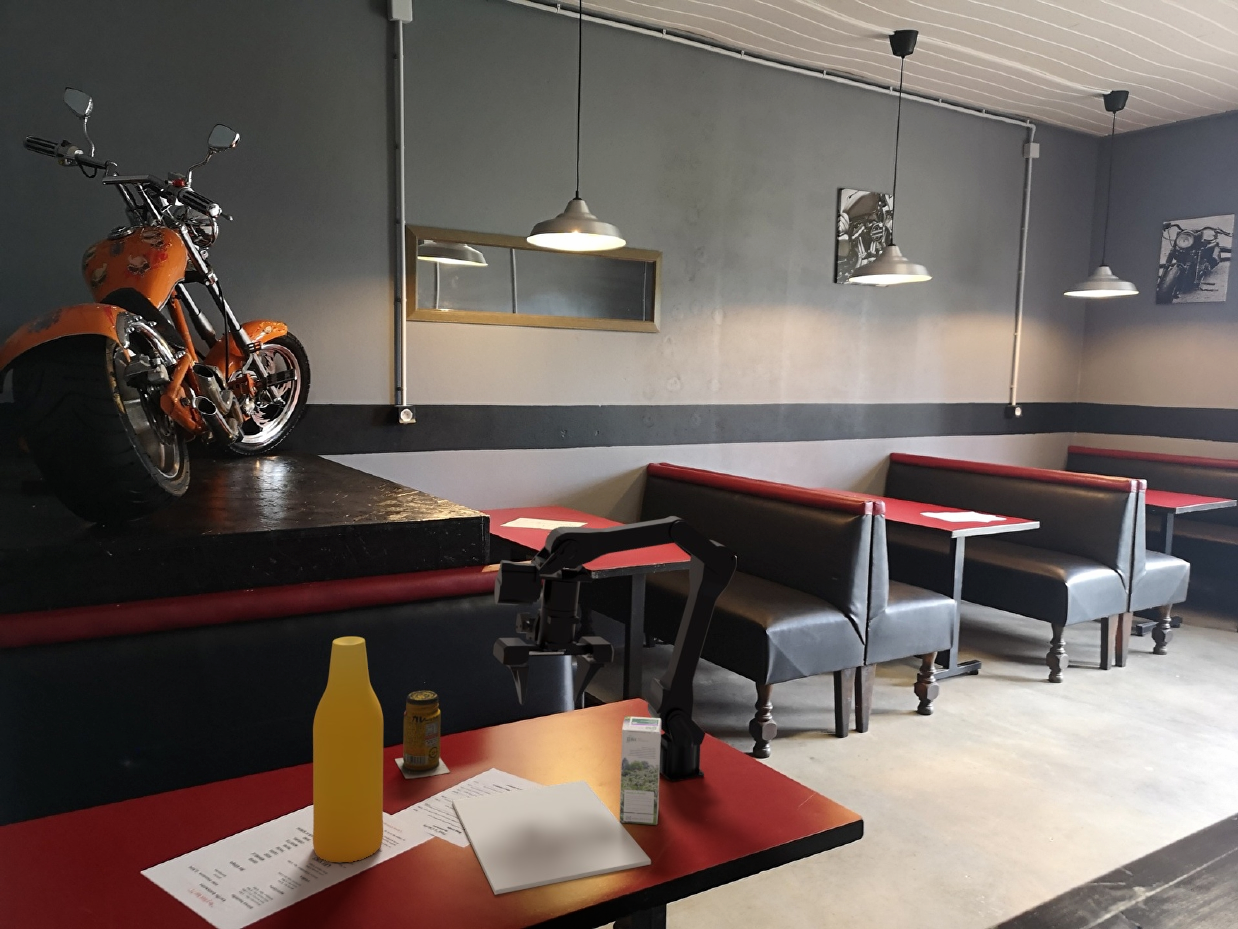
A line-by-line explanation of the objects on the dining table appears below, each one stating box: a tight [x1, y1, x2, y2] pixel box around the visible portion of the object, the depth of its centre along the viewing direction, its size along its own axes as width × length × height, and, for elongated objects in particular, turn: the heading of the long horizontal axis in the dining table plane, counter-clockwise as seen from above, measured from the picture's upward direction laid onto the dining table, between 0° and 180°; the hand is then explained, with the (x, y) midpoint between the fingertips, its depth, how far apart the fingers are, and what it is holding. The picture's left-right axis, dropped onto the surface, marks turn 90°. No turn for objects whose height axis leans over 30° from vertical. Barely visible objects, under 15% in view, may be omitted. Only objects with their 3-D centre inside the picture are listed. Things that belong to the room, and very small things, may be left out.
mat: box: [451, 779, 652, 895], centre depth 128 cm, size 22×26×1 cm
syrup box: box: [619, 715, 662, 826], centre depth 133 cm, size 6×6×14 cm
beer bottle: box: [312, 636, 384, 863], centre depth 121 cm, size 9×9×29 cm
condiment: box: [394, 690, 451, 779], centre depth 148 cm, size 7×8×12 cm
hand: (549, 702), depth 142 cm, fingers open, 9 cm apart
